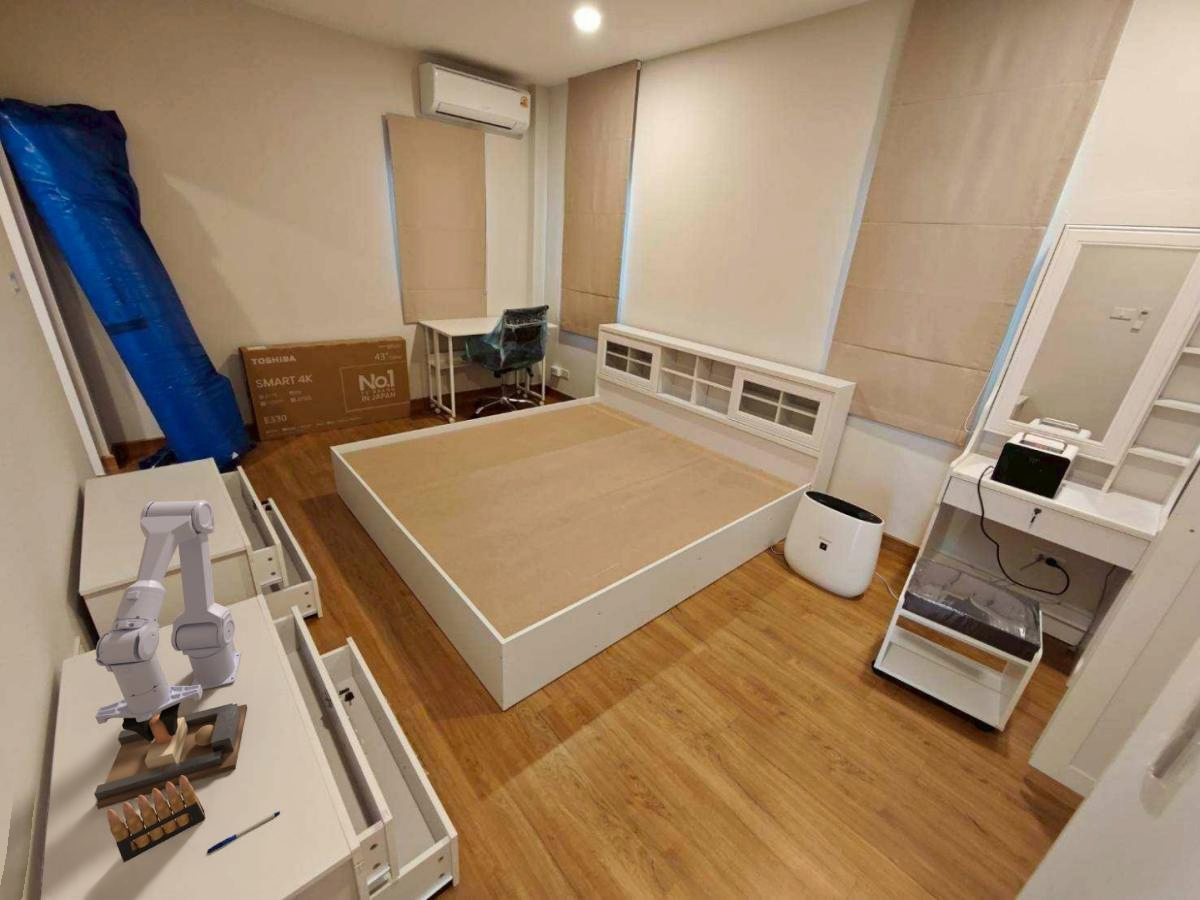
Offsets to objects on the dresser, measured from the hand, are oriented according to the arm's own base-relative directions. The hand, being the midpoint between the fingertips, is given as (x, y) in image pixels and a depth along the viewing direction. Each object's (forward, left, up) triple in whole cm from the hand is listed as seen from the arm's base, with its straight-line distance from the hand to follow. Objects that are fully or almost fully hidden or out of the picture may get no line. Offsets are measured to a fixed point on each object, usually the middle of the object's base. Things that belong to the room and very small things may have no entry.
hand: (163, 733), depth 94 cm
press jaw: (0, 0, -5) cm, 5 cm away
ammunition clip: (+16, +3, -7) cm, 18 cm away
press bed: (0, +1, -6) cm, 7 cm away
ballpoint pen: (+20, +15, -7) cm, 26 cm away
